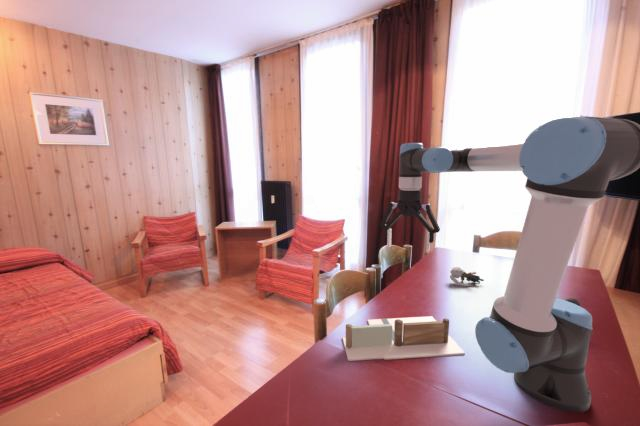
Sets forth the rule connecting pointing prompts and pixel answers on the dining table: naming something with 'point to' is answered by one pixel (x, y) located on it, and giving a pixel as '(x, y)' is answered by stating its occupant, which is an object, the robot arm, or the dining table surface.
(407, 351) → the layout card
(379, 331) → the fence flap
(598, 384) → the dining table surface
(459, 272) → the toy
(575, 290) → the dining table surface
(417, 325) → the fence fixed
